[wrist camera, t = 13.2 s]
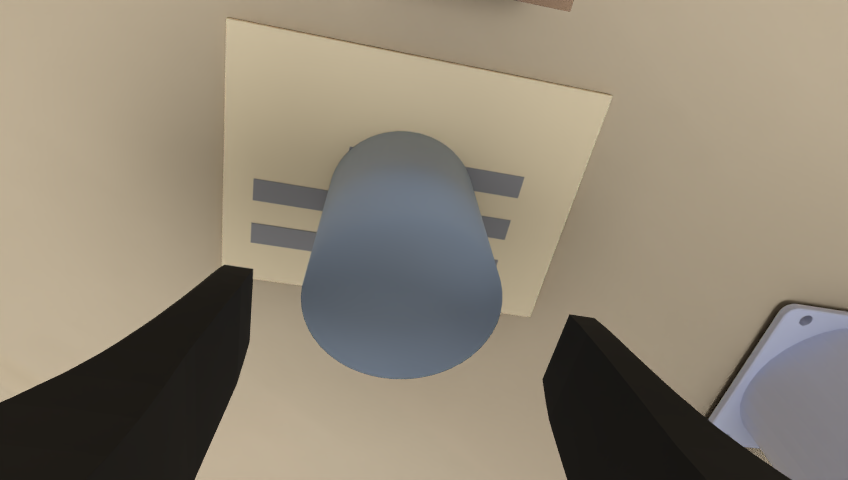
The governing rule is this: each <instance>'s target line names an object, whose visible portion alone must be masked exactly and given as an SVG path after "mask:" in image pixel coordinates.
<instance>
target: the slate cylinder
mask: <svg viewBox="0 0 848 480" xmlns="http://www.w3.org/2000/svg"><path fill="white" fill-rule="evenodd" d="M301 305H302V312H303V316H304V319H305V322H306V324H307V327H308V329H309V331H310V333H311V334H312V336H313V338H314V339H315V340H316V341H317V343H318V344H319V345H320V346H321V347H322V348H323V349H324V350H325V351H326V352H327V353H328V354H329V355H330V356H332V357H333V358H334V359H336V360H337V361H338V362H340V363H342V364H344V365H345V366H347V367H349V368H351V369H354V370H356V371H358V372H361V373H364V374H368V375H371V376H376V377H381V378H389V379H412V378H420V377H426V376H430V375H434V374H437V373H440V372H443V371H445V370H448V369H451V368H452V367H454V366H456V365H458V364H460V363H462V362H463V361H465V360H466V359H468V358H469V357H471V356H472V355H473V354H474V353H475V352H476V351H478V350H479V349H480V348H481V346H482V345H483V344H484V343H485V342H486V341H487V339H488V338H489V337H490V335H491V334H492V332H493V330H494V328H495V326H496V324H497V322H498V319H499V316H500V313H501V307H502V286H501V280H500V277H499V273H498V270H497V267H496V263H495V260H494V257H493V253H492V250H491V247H490V243H489V240H488V237H487V233H486V230H485V226H484V223H483V220H482V216H481V213H480V210H479V206H478V203H477V200H476V196H475V193H474V190H473V186H472V183H471V180H470V177H469V174H468V172H467V170H466V168H465V166H464V164H463V163H462V161H461V160H460V158H459V157H458V156H457V155H456V154H455V153H454V152H453V151H452V150H451V149H450V148H448V147H447V146H446V145H444V144H443V143H441V142H440V141H438V140H436V139H434V138H432V137H429V136H426V135H423V134H420V133H414V132H407V131H395V132H387V133H382V134H378V135H375V136H373V137H370V138H368V139H366V140H364V141H362V142H360V143H359V144H357V145H356V146H354V147H353V148H352V149H351V150H350V151H349V152H348V153H346V155H345V156H344V157H343V158H342V159H341V161H340V162H339V164H338V165H337V167H336V169H335V171H334V173H333V176H332V179H331V182H330V186H329V190H328V193H327V197H326V201H325V204H324V208H323V211H322V215H321V219H320V222H319V226H318V230H317V233H316V237H315V241H314V244H313V248H312V252H311V255H310V259H309V263H308V266H307V270H306V274H305V277H304V281H303V285H302V292H301Z"/></svg>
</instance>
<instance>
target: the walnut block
mask: <svg viewBox="0 0 848 480" xmlns="http://www.w3.org/2000/svg"><path fill="white" fill-rule="evenodd" d="M516 1H521V2H526V3H531V4H535V5H540V6H545V7H550V8H554V9H559V10H564V11H569V12H570V11H571V7H572V4H573V1H574V0H516Z"/></svg>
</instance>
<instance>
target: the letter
mask: <svg viewBox="0 0 848 480" xmlns="http://www.w3.org/2000/svg"><path fill="white" fill-rule="evenodd" d="M612 97H613V96H612V95H610V94H605V93H600V92H595V91H590V90H585V89H580V88H575V87H570V86H566V85H561V84H556V83H551V82H546V81H541V80H536V79H531V78H526V77H521V76H516V75H511V74H506V73H501V72H496V71H491V70H486V69H481V68H476V67H471V66H466V65H462V64H457V63H452V62H447V61H442V60H437V59H432V58H427V57H422V56H417V55H412V54H407V53H402V52H397V51H392V50H387V49H382V48H377V47H372V46H367V45H363V44H358V43H353V42H348V41H343V40H338V39H333V38H328V37H323V36H318V35H313V34H308V33H303V32H298V31H293V30H288V29H283V28H278V27H273V26H268V25H263V24H259V23H254V22H249V21H244V20H239V19H234V18H229V17H228V18H226V51H225V104H224V158H223V212H222V265H221V267H222V266H223V265H231V266H237V267H244V268H251V269H253V279H256V280H263V281H270V282H278V283H285V284H292V285H299V286H302V285H303V281H304V277H305V274H306V270H307V266H308V263H309V259H310V255H311V252H312V248H313V244H314V241H315V237H316V233H317V230H318V226H319V222H320V219H321V215H322V211H323V208H324V204H325V201H326V197H327V193H328V190H329V186H330V182H331V179H332V176H333V173H334V171H335V169H336V167H337V165H338V164H339V162H340V161H341V159H342V158H343V157H344V156H345V155H346V153H348V152H349V151H350V150H351V149H352V148H353V147H354V146H356V145H357V144H359V143H360V142H362V141H364V140H366V139H368V138H370V137H373V136H375V135H378V134H382V133H387V132H395V131H407V132H414V133H420V134H423V135H426V136H429V137H432V138H434V139H436V140H438V141H440V142H441V143H443V144H444V145H446V146H447V147H448V148H450V149H451V150H452V151H453V152H454V153H455V154H456V155H457V156H458V157H459V158H460V160H461V161H462V163H463V164H464V166H465V168H466V170H467V172H468V174H469V177H470V180H471V183H472V186H473V190H474V193H475V196H476V200H477V203H478V206H479V210H480V213H481V216H482V220H483V223H484V226H485V230H486V233H487V237H488V240H489V243H490V247H491V250H492V253H493V257H494V260H495V263H496V267H497V270H498V273H499V277H500V280H501V286H502V307H501V313H502V314H509V315H516V316H524V317H530V316H531V313H532V311H533V308H534V305H535V303H536V300H537V297H538V295H539V292H540V289H541V287H542V284H543V281H544V279H545V276H546V273H547V271H548V268H549V265H550V263H551V260H552V257H553V255H554V252H555V249H556V247H557V244H558V241H559V239H560V236H561V233H562V231H563V228H564V225H565V223H566V220H567V217H568V215H569V212H570V209H571V207H572V204H573V201H574V199H575V196H576V193H577V191H578V188H579V185H580V183H581V180H582V177H583V175H584V172H585V169H586V167H587V164H588V161H589V159H590V156H591V153H592V150H593V148H594V145H595V142H596V140H597V137H598V134H599V132H600V129H601V126H602V124H603V121H604V118H605V116H606V113H607V110H608V108H609V105H610V102H611V100H612Z"/></svg>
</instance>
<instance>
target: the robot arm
mask: <svg viewBox="0 0 848 480" xmlns="http://www.w3.org/2000/svg"><path fill="white" fill-rule="evenodd" d="M252 285H253V269H251V268H244V267H237V266H231V265H223V266H222V267H220V268H219V269H217V270H216V271H215V272H214V273H212V274H211V275H210V276H209V277H207V278H206V279H205V280H204V281H202V282H201V283H200V284H199V285H197V286H196V287H195V288H194V289H192V290H191V291H190V292H189V293H187V294H186V295H185V296H183V297H182V298H181V299H179V300H178V301H177V302H175V303H174V304H173V305H171V306H170V307H169V308H167V309H166V310H165V311H163V312H162V313H161V314H159V315H158V316H157V317H155V318H154V319H152V320H151V321H149V322H148V323H146V324H145V325H143V326H142V327H140V328H139V329H137V330H136V331H134V332H133V333H131V334H130V335H128V336H127V337H125V338H124V339H122V340H121V341H119V342H118V343H116V344H115V345H113V346H111V347H110V348H108V349H106V350H105V351H103V352H101V353H100V354H98V355H96V356H94V357H93V358H91V359H89V360H87V361H85V362H83V363H82V364H80V365H78V366H76V367H74V368H72V369H70V370H69V371H67V372H65V373H63V374H61V375H59V376H56V377H54V378H52V379H50V380H48V381H46V382H44V383H42V384H39V385H37V386H35V387H33V388H31V389H29V390H27V391H25V392H22V393H20V394H18V395H16V396H14V397H12V398H10V399H7V400H5V401H3V402H0V480H195V478H196V475H197V473H198V470H199V468H200V466H201V464H202V461H203V459H204V457H205V455H206V452H207V450H208V448H209V446H210V443H211V441H212V439H213V437H214V434H215V432H216V430H217V428H218V425H219V423H220V421H221V419H222V416H223V414H224V412H225V410H226V407H227V405H228V403H229V400H230V398H231V396H232V394H233V391H234V389H235V387H236V384H237V382H238V378H239V375H240V372H241V369H242V366H243V362H244V359H245V355H246V352H247V348H248V345H249V340H250V322H251V303H252ZM802 317H803V318H802ZM543 386H544V392H545V399H546V405H547V411H548V416H549V421H550V424H551V428H552V431H553V435H554V438H555V441H556V445H557V448H558V451H559V454H560V458H561V461H562V464H563V467H564V470H565V474H566V477H567V480H848V312H846V311H840V310H833V309H827V308H820V307H814V306H807V305H801V304H789V305H786V306H784V307H783V308H782V309H781V310H780V311H779V312H778V314H777V315H776V317H775V318H774V320H773V321H772V323H771V324H770V326H769V327H768V329H767V330H766V332H765V333H764V335H763V336H762V338H761V339H760V341H759V343H758V344H757V346H756V347H755V349H754V350H753V352H752V353H751V355H750V356H749V358H748V359H747V361H746V362H745V364H744V365H743V367H742V368H741V370H740V372H739V373H738V375H737V376H736V378H735V379H734V381H733V382H732V384H731V385H730V387H729V388H728V390H727V391H726V393H725V394H724V396H723V397H722V399H721V400H720V402H719V404H718V405H717V407H716V408H715V410H714V411H713V413H712V414H711V416H710V417H709V419H706V418H705V417H704V416H703V415H701V414H700V413H699V412H698V411H697V410H696V409H694V408H693V407H692V406H691V405H690V404H688V403H687V402H686V401H685V400H684V399H683V398H681V397H680V396H679V395H678V394H677V393H676V392H675V391H673V390H672V389H671V388H670V387H669V386H668V385H667V384H666V383H664V382H663V381H662V380H661V379H660V378H659V377H658V376H657V375H656V374H655V373H654V372H653V371H651V370H650V369H649V368H648V367H647V366H646V365H645V364H644V363H643V362H642V361H641V360H640V359H639V358H638V357H637V356H635V355H634V354H633V353H632V352H631V351H630V350H629V349H628V348H627V347H626V346H625V345H624V344H623V343H622V342H621V341H620V340H619V339H618V338H616V337H615V336H614V335H613V334H612V333H611V332H610V331H609V330H608V329H607V328H606V327H604V326H603V325H602V324H601V323H600V322H598V321H597V320H596V319H595V318H590V317H583V316H576V315H569V317H568V319H567V322H566V324H565V327H564V329H563V331H562V334H561V336H560V339H559V341H558V343H557V346H556V348H555V351H554V353H553V355H552V358H551V360H550V363H549V365H548V367H547V370H546V372H545V375H544V377H543ZM744 447H750V448H759V449H761V450H762V452H763V453H764V454H765V456H766V457H767V459H768V460H769V462H770V463H771V464H772V466H773V467H774V468H773V467H772V466H770V465H769V464H767V463H766V462H764V461H763V460H761V459H760V458H758V457H757V456H756V455H754V454H753V453H751V452H750V451H748V450H747V449H746V448H744Z"/></svg>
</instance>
